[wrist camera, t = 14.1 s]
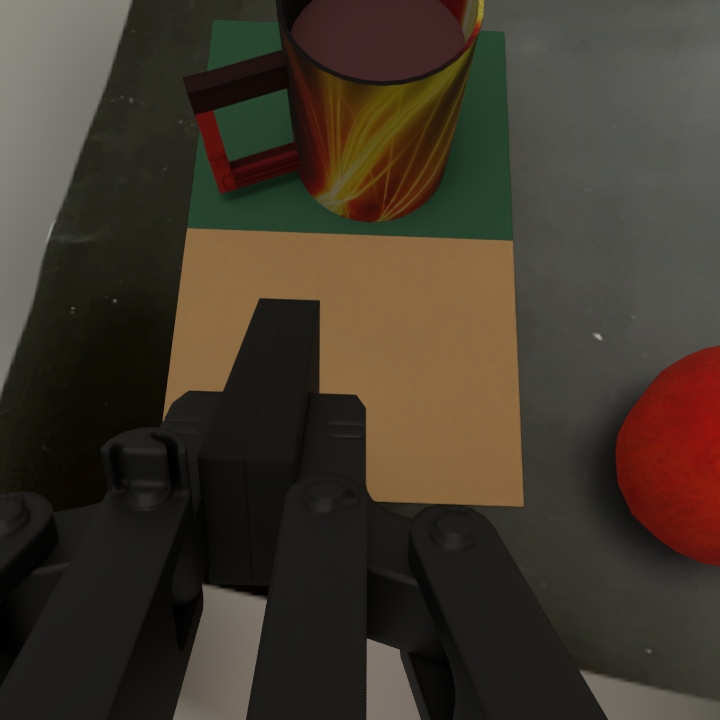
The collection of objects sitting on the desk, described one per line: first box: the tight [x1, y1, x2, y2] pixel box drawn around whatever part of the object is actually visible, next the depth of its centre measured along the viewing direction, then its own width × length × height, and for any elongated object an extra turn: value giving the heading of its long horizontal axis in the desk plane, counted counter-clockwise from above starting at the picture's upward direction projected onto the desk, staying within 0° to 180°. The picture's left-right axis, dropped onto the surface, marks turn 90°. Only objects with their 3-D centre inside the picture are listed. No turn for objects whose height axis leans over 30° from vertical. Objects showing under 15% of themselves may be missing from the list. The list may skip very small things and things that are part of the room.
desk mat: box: [163, 20, 524, 507], centre depth 39 cm, size 20×32×1 cm, turn 178°
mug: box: [183, 0, 484, 222], centre depth 35 cm, size 10×14×12 cm
